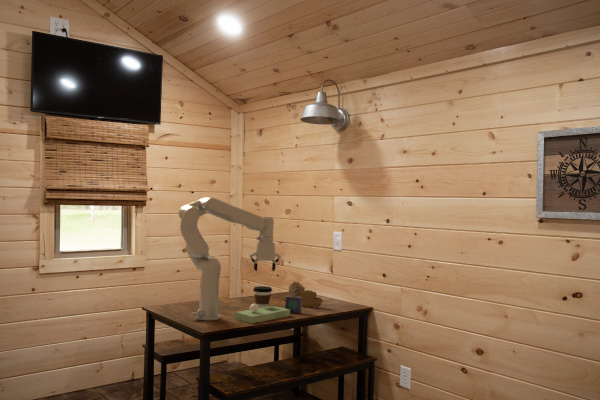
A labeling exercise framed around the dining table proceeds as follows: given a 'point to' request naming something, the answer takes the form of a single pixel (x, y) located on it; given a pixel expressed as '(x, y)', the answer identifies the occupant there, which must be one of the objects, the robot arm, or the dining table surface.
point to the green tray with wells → (262, 314)
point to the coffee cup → (262, 295)
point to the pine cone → (296, 288)
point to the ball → (254, 308)
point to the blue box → (293, 304)
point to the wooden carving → (310, 299)
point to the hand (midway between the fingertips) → (264, 270)
